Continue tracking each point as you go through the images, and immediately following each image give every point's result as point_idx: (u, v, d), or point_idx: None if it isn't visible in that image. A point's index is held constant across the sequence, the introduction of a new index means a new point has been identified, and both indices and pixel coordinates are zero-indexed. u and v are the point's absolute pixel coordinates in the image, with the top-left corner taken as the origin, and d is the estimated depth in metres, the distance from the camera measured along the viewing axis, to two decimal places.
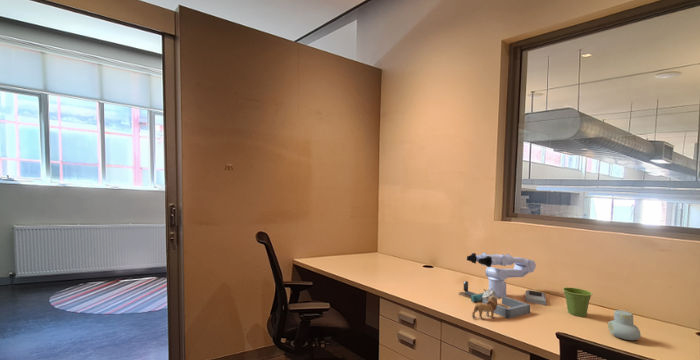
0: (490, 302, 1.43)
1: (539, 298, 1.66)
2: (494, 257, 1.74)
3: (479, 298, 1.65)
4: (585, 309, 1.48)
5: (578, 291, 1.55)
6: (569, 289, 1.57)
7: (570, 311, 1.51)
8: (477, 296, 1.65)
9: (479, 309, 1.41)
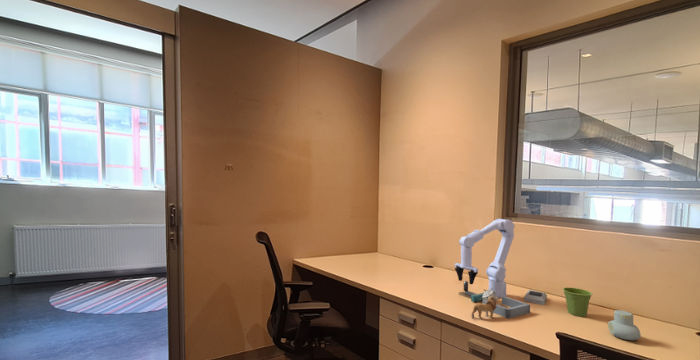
0: (489, 302, 1.43)
1: (537, 298, 1.66)
2: (465, 256, 1.73)
3: (479, 298, 1.65)
4: (585, 309, 1.47)
5: (578, 291, 1.55)
6: (569, 289, 1.57)
7: (570, 311, 1.51)
8: (477, 296, 1.65)
9: (478, 309, 1.41)
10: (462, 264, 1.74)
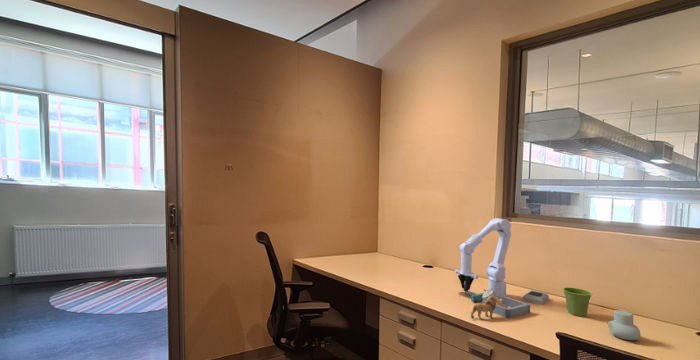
0: (489, 302, 1.43)
1: (536, 298, 1.66)
2: (465, 263, 1.73)
3: (479, 298, 1.65)
4: (585, 309, 1.48)
5: (578, 291, 1.55)
6: (569, 289, 1.57)
7: (570, 311, 1.51)
8: (477, 296, 1.65)
9: (478, 309, 1.41)
10: (462, 271, 1.74)
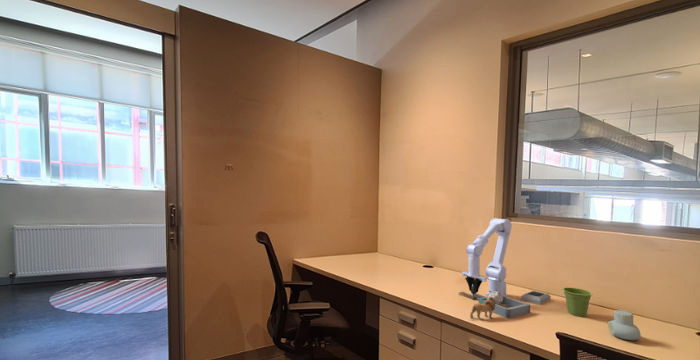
0: (488, 302, 1.43)
1: (534, 297, 1.66)
2: (474, 265, 1.68)
3: None
4: (585, 309, 1.48)
5: (578, 291, 1.55)
6: (569, 289, 1.57)
7: (570, 311, 1.51)
8: None
9: (477, 309, 1.41)
10: (470, 273, 1.69)
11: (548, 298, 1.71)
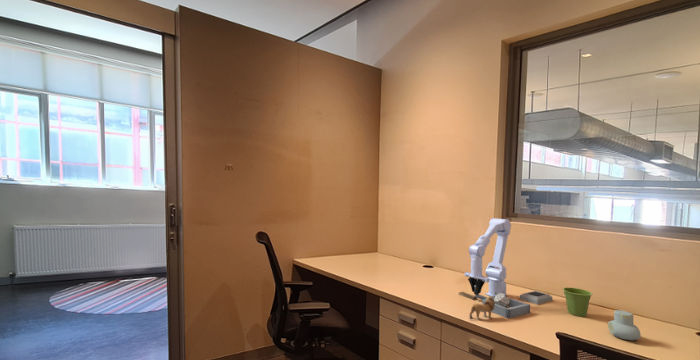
0: (487, 302, 1.43)
1: (532, 297, 1.67)
2: (477, 266, 1.66)
3: None
4: (585, 309, 1.48)
5: (578, 291, 1.55)
6: (569, 289, 1.57)
7: (570, 311, 1.51)
8: None
9: (476, 310, 1.40)
10: (472, 274, 1.68)
11: (549, 299, 1.70)
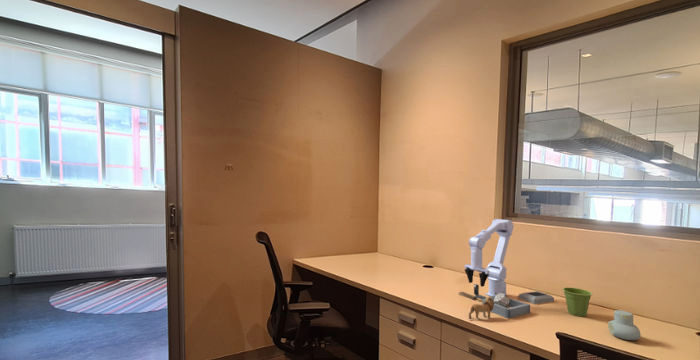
0: (487, 303, 1.42)
1: (530, 296, 1.68)
2: (478, 257, 1.67)
3: None
4: (585, 309, 1.48)
5: (578, 291, 1.55)
6: (569, 289, 1.57)
7: (570, 311, 1.51)
8: None
9: (475, 310, 1.40)
10: (472, 266, 1.68)
11: (550, 299, 1.69)
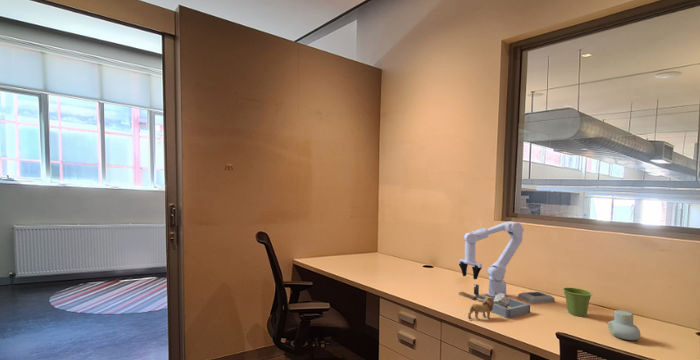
0: (486, 303, 1.42)
1: (529, 296, 1.68)
2: (468, 252, 1.77)
3: None
4: (585, 309, 1.48)
5: (578, 291, 1.55)
6: (569, 289, 1.57)
7: (570, 311, 1.51)
8: None
9: (475, 310, 1.40)
10: (466, 260, 1.78)
11: (550, 300, 1.68)
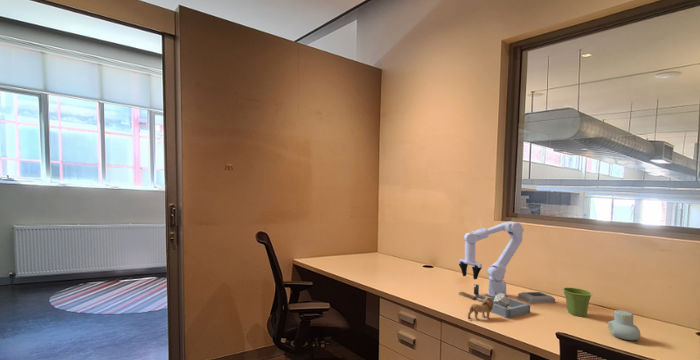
0: (486, 303, 1.42)
1: (528, 296, 1.69)
2: (468, 252, 1.77)
3: None
4: (585, 309, 1.48)
5: (578, 291, 1.55)
6: (569, 289, 1.57)
7: (570, 311, 1.51)
8: None
9: (475, 310, 1.40)
10: (466, 260, 1.78)
11: (550, 300, 1.68)
